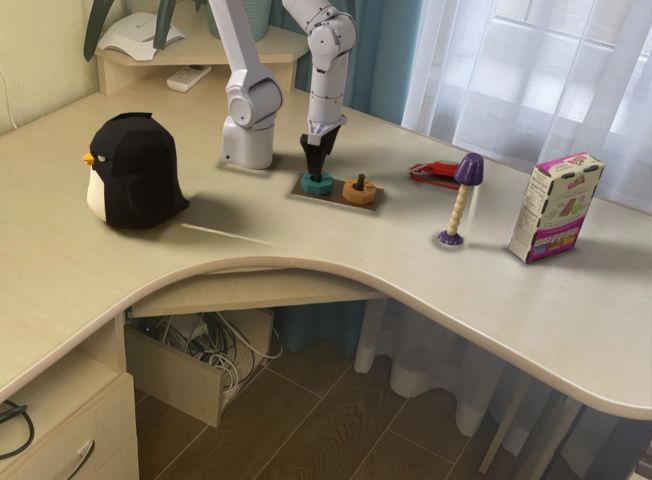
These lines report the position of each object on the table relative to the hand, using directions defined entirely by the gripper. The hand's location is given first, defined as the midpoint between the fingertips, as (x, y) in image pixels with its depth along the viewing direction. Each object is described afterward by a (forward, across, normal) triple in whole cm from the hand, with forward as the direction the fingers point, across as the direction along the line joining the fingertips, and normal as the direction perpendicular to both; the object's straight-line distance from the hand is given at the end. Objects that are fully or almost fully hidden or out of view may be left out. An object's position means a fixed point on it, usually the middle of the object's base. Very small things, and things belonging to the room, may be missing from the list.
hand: (319, 163), depth 136 cm
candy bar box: (+6, -4, -41) cm, 42 cm away
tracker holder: (+6, +13, -21) cm, 25 cm away
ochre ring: (+5, 0, -8) cm, 9 cm away
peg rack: (+6, 0, -4) cm, 7 cm away
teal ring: (+5, 0, 0) cm, 5 cm away
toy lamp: (+6, -8, -26) cm, 28 cm away
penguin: (+6, -19, +27) cm, 34 cm away
